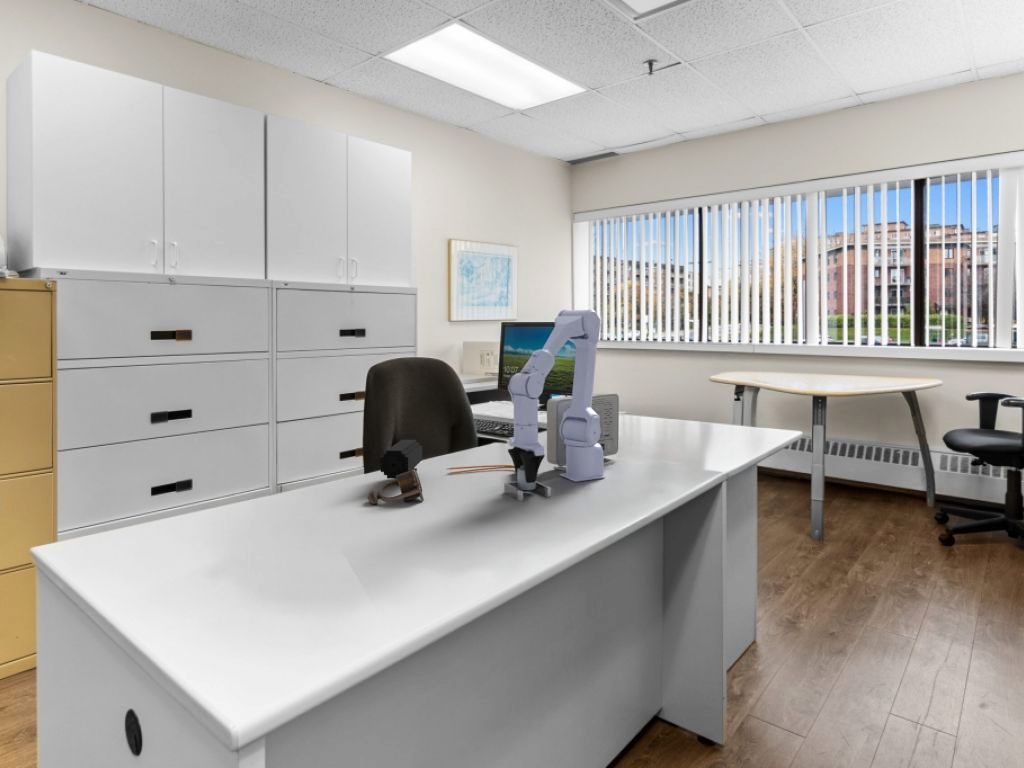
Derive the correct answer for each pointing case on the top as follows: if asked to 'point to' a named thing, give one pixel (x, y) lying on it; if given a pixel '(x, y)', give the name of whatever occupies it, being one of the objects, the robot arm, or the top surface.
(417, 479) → the mechanical counter
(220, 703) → the top surface
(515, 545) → the top surface
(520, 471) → the light grey cylinder
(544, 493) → the clip cradle
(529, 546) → the top surface
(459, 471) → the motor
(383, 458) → the security camera
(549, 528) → the top surface
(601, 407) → the network device
